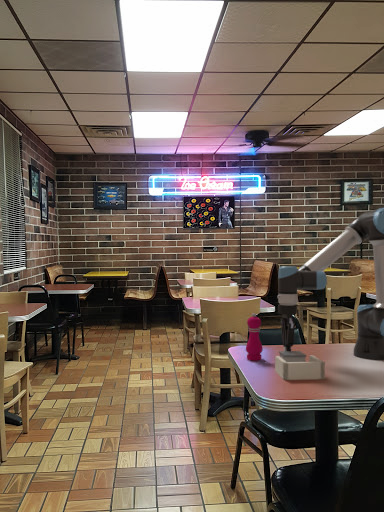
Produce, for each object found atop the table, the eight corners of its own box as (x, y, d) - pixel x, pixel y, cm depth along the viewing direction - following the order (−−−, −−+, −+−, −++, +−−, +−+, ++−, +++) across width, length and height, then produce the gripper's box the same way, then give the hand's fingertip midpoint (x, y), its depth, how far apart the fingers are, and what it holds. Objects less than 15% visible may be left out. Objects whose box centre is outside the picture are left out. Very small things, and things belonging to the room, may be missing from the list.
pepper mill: (262, 361, 180) (262, 314, 180) (245, 360, 181) (245, 313, 181) (262, 357, 187) (262, 312, 187) (246, 356, 188) (246, 311, 188)
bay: (313, 370, 164) (313, 355, 164) (324, 379, 153) (324, 362, 153) (275, 371, 163) (275, 356, 163) (284, 380, 152) (284, 363, 152)
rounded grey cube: (299, 367, 170) (299, 350, 170) (306, 372, 162) (306, 355, 162) (279, 367, 169) (279, 351, 169) (284, 372, 162) (284, 355, 162)
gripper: (274, 302, 178) (274, 358, 178) (283, 305, 165) (282, 366, 165) (291, 302, 179) (291, 358, 178) (301, 305, 166) (301, 366, 165)
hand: (287, 362), depth 172 cm, fingers closed
